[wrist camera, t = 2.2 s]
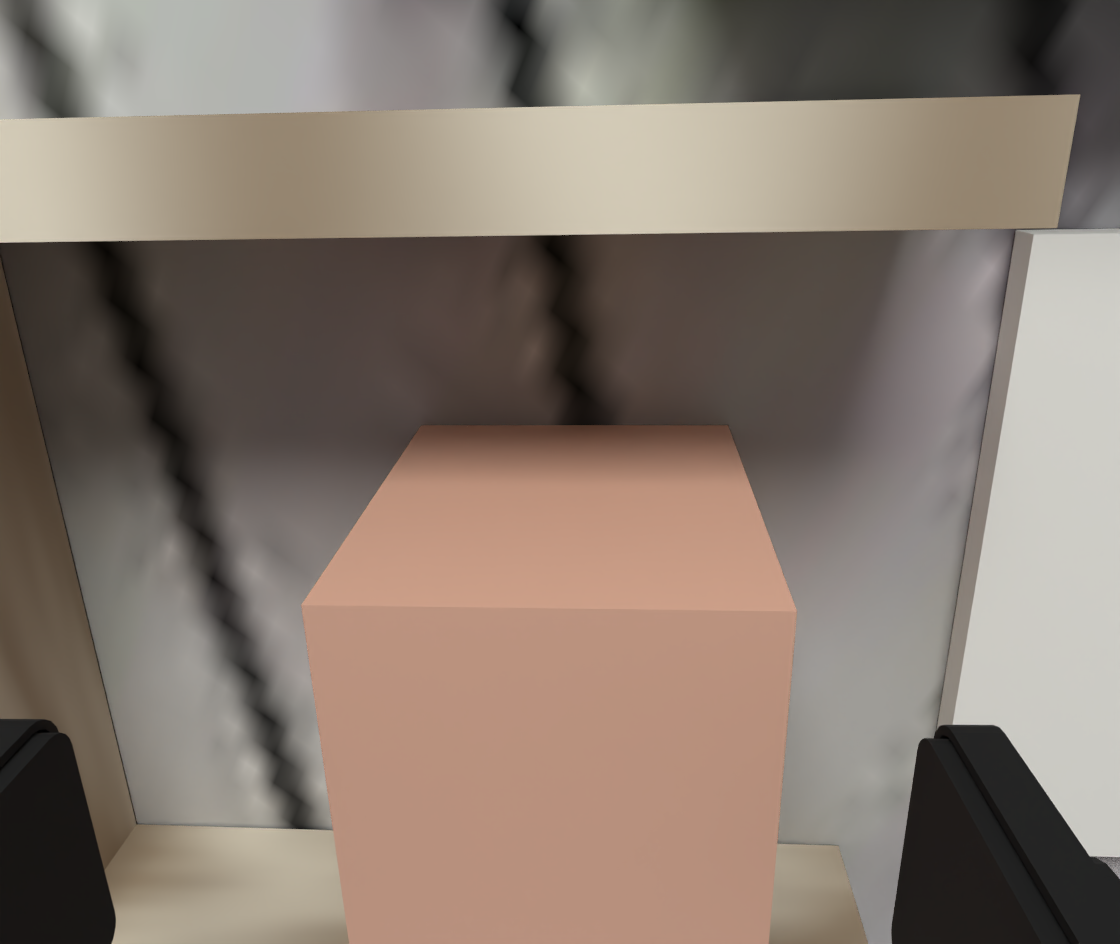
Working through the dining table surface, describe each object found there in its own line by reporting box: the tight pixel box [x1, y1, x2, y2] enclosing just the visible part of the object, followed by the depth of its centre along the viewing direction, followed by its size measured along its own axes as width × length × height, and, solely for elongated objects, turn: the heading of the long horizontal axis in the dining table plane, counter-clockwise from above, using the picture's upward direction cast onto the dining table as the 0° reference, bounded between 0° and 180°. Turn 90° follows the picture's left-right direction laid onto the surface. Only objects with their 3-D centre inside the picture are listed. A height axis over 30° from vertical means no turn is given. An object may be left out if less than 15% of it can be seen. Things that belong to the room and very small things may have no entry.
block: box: [301, 425, 797, 944], centre depth 13 cm, size 5×5×6 cm
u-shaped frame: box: [0, 94, 1080, 944], centre depth 13 cm, size 15×14×4 cm
